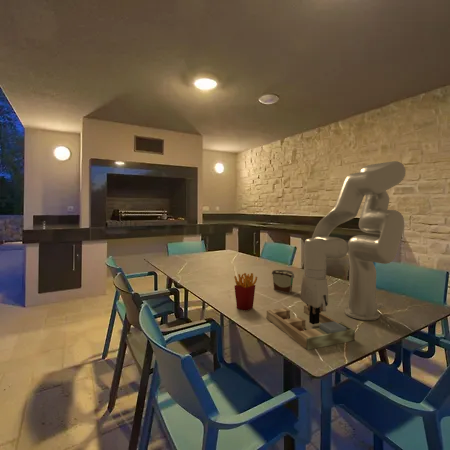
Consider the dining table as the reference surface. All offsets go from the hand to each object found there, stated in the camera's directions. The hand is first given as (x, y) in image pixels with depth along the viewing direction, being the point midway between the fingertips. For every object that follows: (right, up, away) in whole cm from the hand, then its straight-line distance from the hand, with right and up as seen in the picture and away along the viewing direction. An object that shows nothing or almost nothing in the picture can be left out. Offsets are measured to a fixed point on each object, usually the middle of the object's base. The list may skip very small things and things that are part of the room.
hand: (314, 322), depth 102 cm
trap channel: (-3, -1, -2) cm, 4 cm away
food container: (-1, +2, +43) cm, 43 cm away
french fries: (-24, 0, +20) cm, 31 cm away
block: (+3, -2, -10) cm, 10 cm away
